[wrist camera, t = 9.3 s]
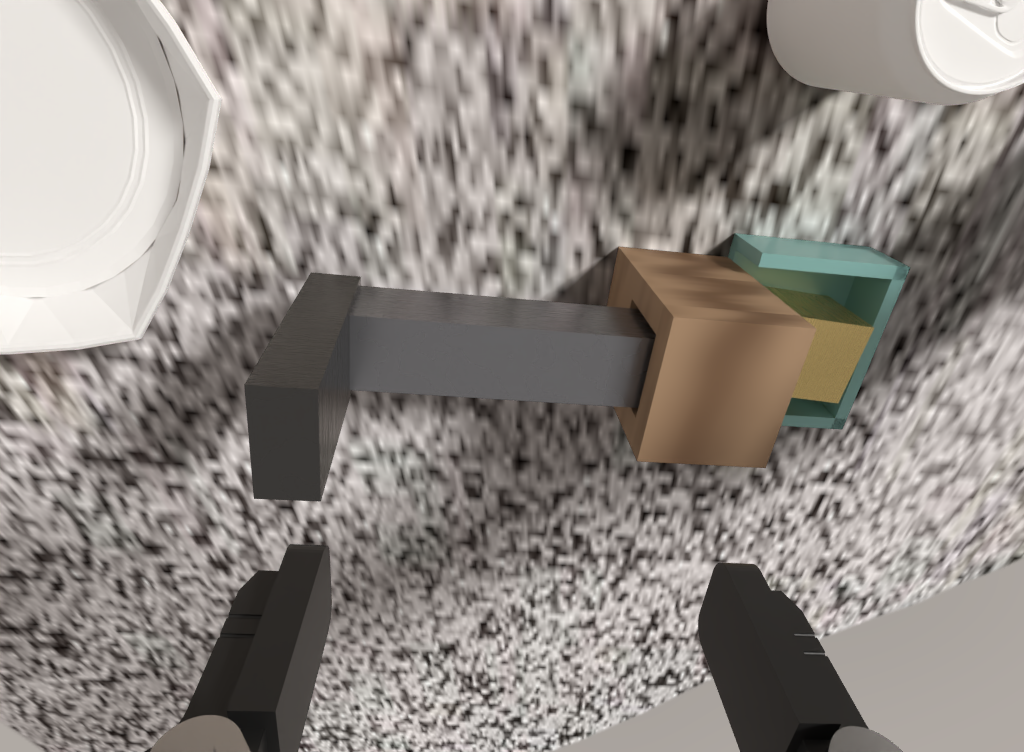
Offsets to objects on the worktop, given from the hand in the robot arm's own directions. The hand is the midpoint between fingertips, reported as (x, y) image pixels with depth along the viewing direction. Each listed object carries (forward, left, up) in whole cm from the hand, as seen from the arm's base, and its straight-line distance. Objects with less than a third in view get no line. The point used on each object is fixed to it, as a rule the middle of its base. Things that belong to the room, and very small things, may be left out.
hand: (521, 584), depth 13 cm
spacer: (-17, +4, -24) cm, 30 cm away
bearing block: (-12, +4, -28) cm, 30 cm away
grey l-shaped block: (-2, +4, -23) cm, 23 cm away
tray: (-20, +4, -28) cm, 34 cm away
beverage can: (-18, -14, -28) cm, 36 cm away
